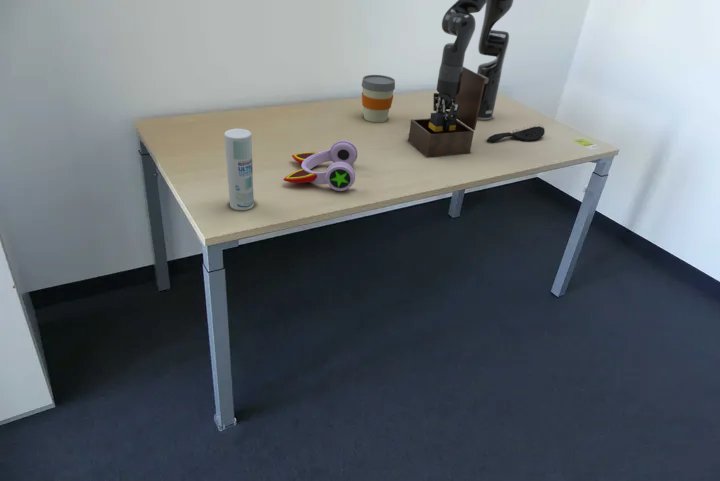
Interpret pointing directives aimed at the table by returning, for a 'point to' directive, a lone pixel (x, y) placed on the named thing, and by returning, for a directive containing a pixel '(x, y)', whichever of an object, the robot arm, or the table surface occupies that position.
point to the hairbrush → (521, 134)
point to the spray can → (239, 168)
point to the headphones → (336, 174)
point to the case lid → (470, 97)
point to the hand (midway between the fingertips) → (441, 127)
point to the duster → (440, 122)
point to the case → (440, 139)
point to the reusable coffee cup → (377, 97)
